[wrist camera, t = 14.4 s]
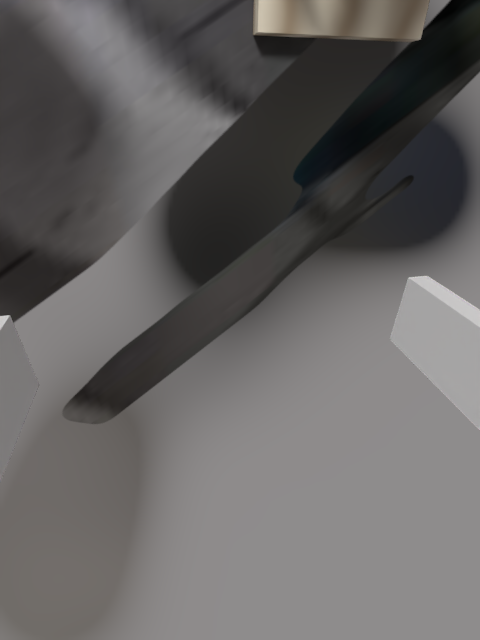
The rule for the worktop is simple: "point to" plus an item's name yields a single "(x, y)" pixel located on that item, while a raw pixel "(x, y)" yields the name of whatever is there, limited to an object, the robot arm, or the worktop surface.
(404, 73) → the worktop surface
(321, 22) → the trapdoor frame
